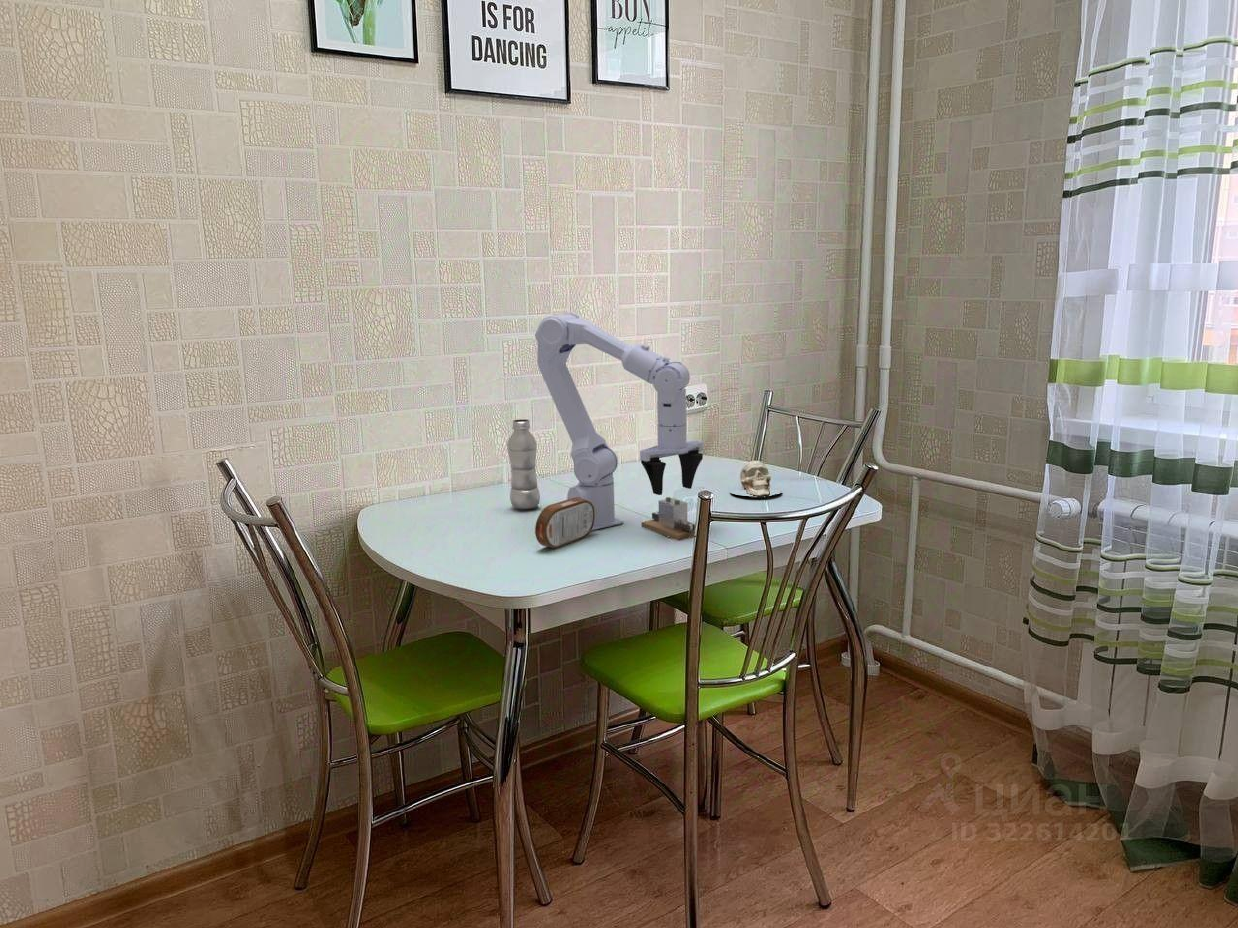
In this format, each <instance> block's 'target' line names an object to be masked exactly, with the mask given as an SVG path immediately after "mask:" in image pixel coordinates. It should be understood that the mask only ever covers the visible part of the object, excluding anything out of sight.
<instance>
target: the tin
mask: <svg viewBox="0 0 1238 928" xmlns="http://www.w3.org/2000/svg"><path fill="white" fill-rule="evenodd" d="M594 517H595V512H594V506H593V505H592V503H591V502H589V501H587V500H585V499H582V498H579V497H574V498H571V499H568V500H567V499H565V500H562V501H558V502H556V503H551V504H548V505H547V506H545V507H544V508H543V509H542V510H541V511H540V513H539V514H538V516H537V519H536V521H535V526H534V534H535V538H536V541H537V542H538V543H539V544H540V545H542V546H543V547H548V548H550V549H558V548H562V547H564V546H567V545H569V544H572V543H575V542H578V541H581V540H583V539H585V538H587V536H588V535H589V534H590V533H591V532H592V531H593V530H592V528H593V525H594Z"/></svg>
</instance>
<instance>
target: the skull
mask: <svg viewBox="0 0 1238 928" xmlns="http://www.w3.org/2000/svg"><path fill="white" fill-rule="evenodd" d="M739 477H740V478H739V479H740V483H741V487H742V489H745V490H746V493H747V494H750V495H753V496H757V497H756V498H765V497H764V496H769V495H770V488H771V485H770V482H771V477H772V476H771V474H770V472H769V469H768V467H766V465H765V463H764V462H762V461H760V460H759V461H758V460H751V461H749V462H747V463H746V464H745V465H743V467H742V468H741V470H740V475H739Z"/></svg>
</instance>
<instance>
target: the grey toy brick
mask: <svg viewBox="0 0 1238 928" xmlns="http://www.w3.org/2000/svg"><path fill="white" fill-rule="evenodd" d="M658 512H659V525H662V526H665V527H667V528H670V529H673V530H676V529H680V522H685V521H687V522H689V521H688V520H689V519H688V502H687V501H683V500H680V499H677V498H674V497H670V496H669V497H668V496H667V497H665V499H660V500H658Z"/></svg>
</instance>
